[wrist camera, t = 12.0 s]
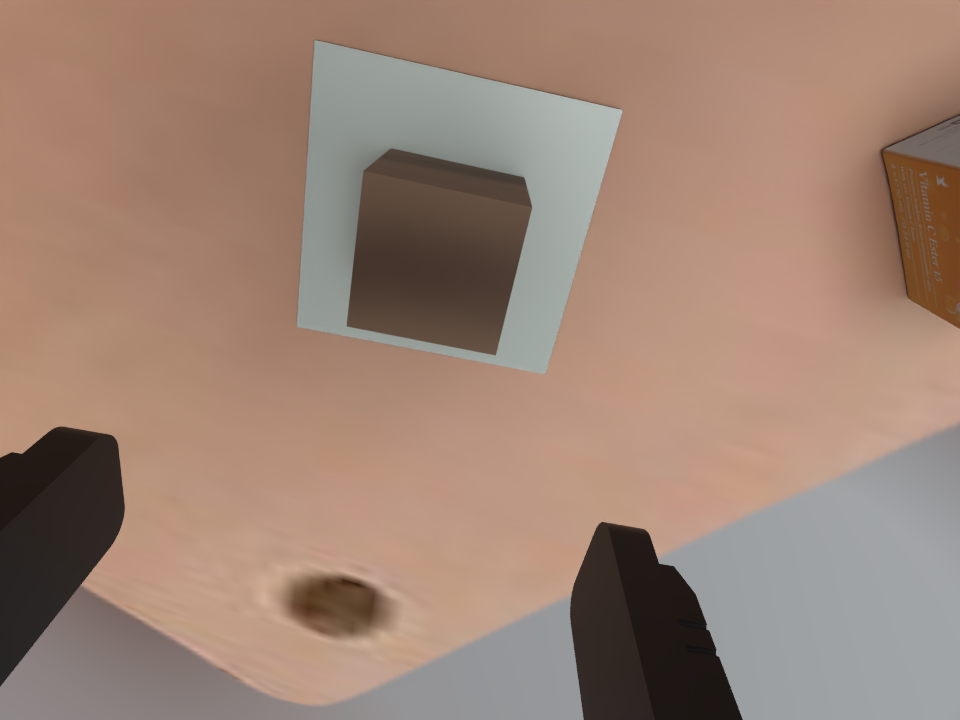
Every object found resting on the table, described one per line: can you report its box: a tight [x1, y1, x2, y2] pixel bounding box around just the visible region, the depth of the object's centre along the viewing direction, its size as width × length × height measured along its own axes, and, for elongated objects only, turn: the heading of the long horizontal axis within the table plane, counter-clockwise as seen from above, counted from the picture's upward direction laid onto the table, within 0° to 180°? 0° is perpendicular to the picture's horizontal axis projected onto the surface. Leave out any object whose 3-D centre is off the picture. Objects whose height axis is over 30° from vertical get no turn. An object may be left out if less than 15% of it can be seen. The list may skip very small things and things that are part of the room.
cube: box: [347, 148, 532, 355], centre depth 24 cm, size 6×6×6 cm
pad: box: [297, 40, 623, 374], centre depth 27 cm, size 13×13×1 cm
